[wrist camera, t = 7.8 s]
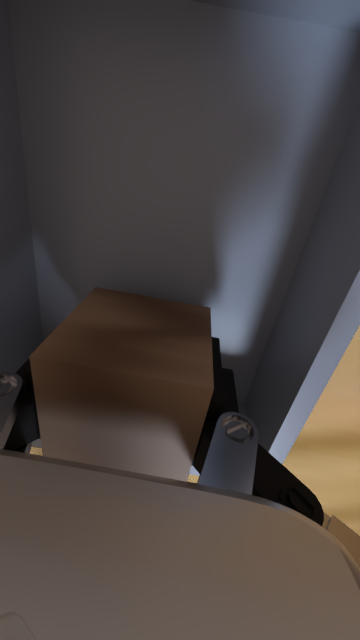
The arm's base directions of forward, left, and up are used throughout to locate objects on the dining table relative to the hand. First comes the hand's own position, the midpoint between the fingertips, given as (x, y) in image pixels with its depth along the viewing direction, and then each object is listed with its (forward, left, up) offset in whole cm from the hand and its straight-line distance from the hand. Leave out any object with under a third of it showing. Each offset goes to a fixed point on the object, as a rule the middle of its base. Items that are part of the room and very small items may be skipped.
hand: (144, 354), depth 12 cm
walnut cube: (0, 0, -1) cm, 1 cm away
